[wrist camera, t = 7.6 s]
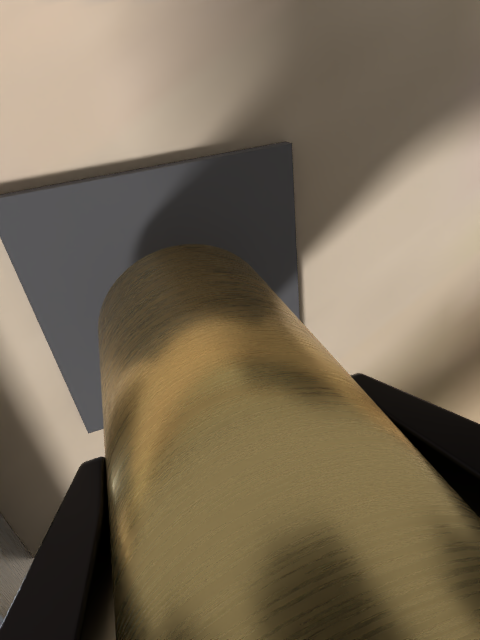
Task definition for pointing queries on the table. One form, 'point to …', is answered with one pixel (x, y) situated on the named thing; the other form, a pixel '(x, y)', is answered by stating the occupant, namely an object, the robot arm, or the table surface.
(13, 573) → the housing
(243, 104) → the table surface
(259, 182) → the mat
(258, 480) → the brass cylinder
